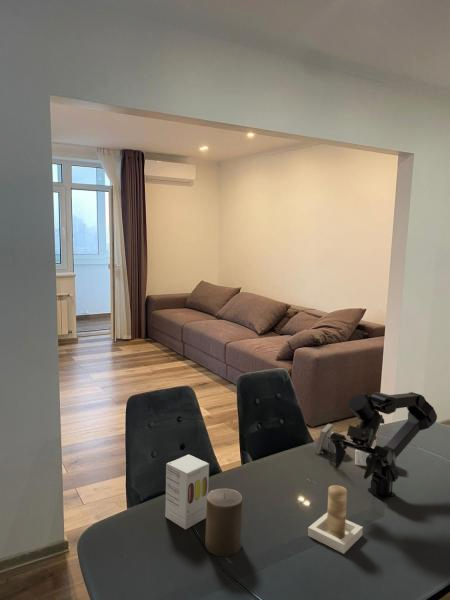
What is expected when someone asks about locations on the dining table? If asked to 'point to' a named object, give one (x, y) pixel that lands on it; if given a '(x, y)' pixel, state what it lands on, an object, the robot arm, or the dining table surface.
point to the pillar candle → (223, 522)
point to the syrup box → (360, 458)
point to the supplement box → (186, 490)
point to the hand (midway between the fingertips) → (350, 473)
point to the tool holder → (342, 545)
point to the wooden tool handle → (336, 511)
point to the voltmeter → (326, 442)
